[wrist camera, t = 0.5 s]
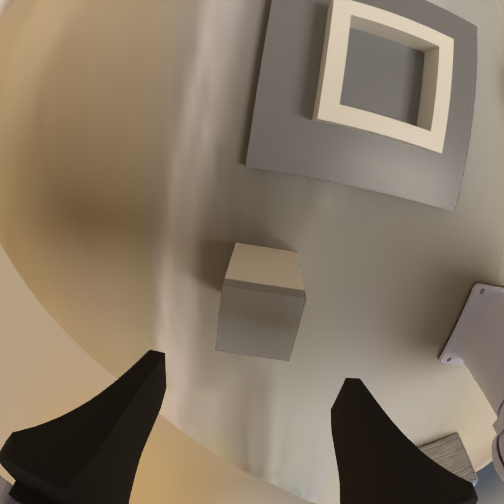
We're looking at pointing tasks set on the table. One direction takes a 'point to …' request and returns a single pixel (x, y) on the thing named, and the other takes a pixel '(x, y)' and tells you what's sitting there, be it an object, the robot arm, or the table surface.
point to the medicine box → (451, 457)
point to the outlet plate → (367, 96)
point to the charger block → (261, 302)
